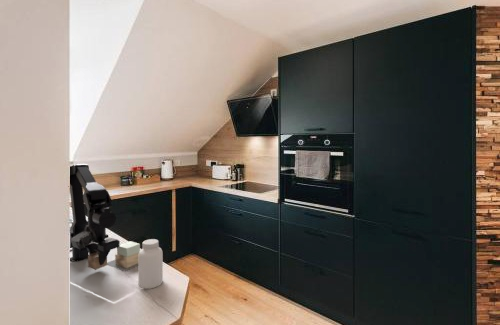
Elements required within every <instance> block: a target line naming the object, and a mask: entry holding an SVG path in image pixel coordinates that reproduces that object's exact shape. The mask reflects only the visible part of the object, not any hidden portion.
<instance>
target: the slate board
mask: <svg viewBox="0 0 500 325" xmlns="http://www.w3.org/2000/svg"><path fill="white" fill-rule="evenodd" d="M107 266H109V267H112V268H114V269H118V270H121V271H123V272H127V271H131V270H132V269H135V268H136V267H138V263H137V264H135V265H133V266H131V267H128V268H125V267H122V266H119V265H117V264H115V259H114V260H111V261H107Z"/></svg>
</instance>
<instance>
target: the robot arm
mask: <svg viewBox="0 0 500 325" xmlns="http://www.w3.org/2000/svg"><path fill="white" fill-rule="evenodd" d="M69 166H70V165H69ZM69 194H70V201H71V211H72V224H71V226H70V228H69V233H70V249H71V253H72V254H71V257H69V258H70V260H69V261H72V262H77V263H78V262H81V261H84V260H88V255H90V254H93V253H96V252H98V256H99V263H100V265H103V264H104V262H105V260H106V258H107V259H108V256H109V254H110V252H111V251H112V250H114V249H117V247H119V246H120V242H121V241H120V240H119V239H117V238H114V237H111V238H109V234H107V233H106V232H107V231H106V229H109V228H111V227H113V226H114V225H115V223H116V221H117V216H116V214H115V213H114V212H112V211H111V208H112V207H113V200H112V197H111V195H110V194H109V191H108V190H107V189H106V187H104V185H102V184H100V183H98V182H97V181H96V179H95V178H94V176H93V174H92V172H91V170H90V167H89V164H88V163H87V164H86V163H76V164H73V165H71V166H70V188H69ZM86 209H87V215H86Z"/></svg>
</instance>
